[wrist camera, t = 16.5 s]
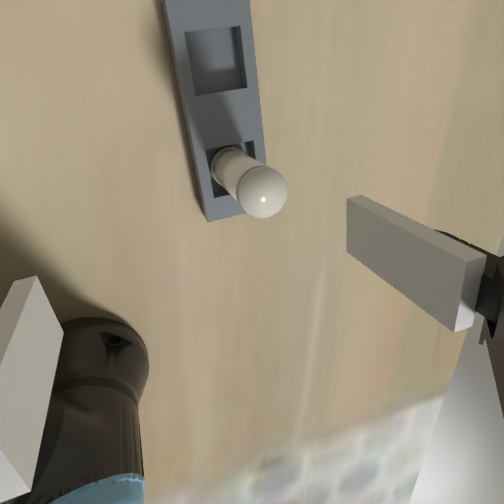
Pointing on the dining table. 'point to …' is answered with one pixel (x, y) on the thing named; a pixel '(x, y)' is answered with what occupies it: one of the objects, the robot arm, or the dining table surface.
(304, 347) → the dining table surface
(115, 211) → the dining table surface
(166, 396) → the dining table surface
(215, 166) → the cylinder
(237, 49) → the fuse strip
